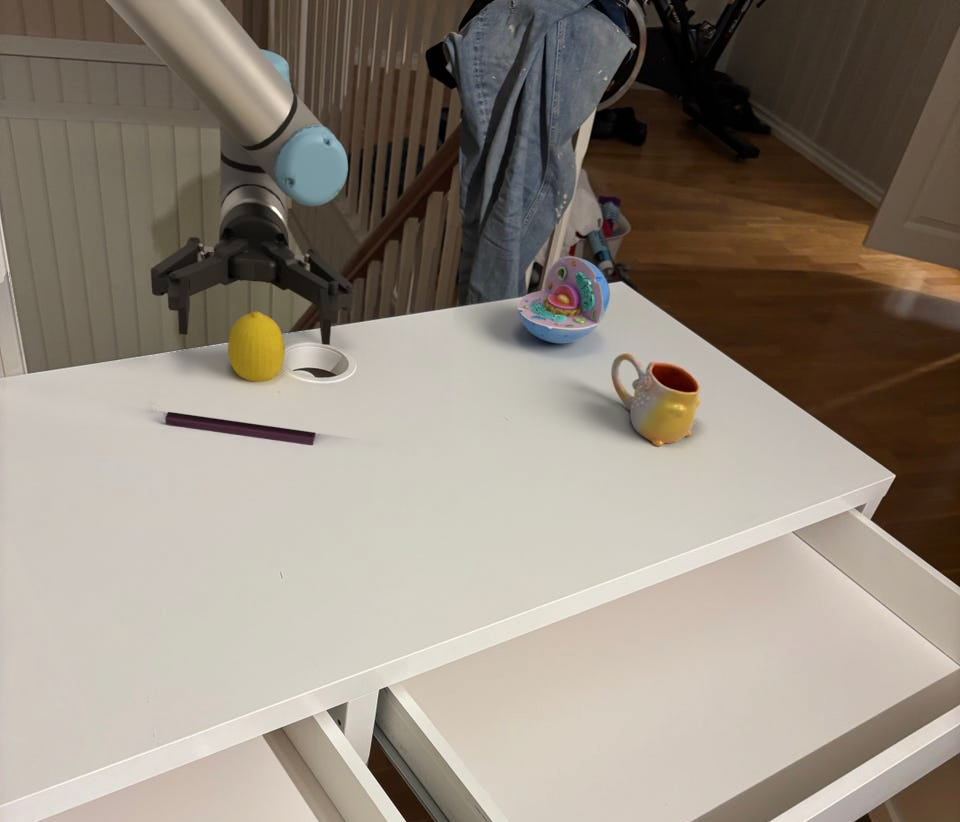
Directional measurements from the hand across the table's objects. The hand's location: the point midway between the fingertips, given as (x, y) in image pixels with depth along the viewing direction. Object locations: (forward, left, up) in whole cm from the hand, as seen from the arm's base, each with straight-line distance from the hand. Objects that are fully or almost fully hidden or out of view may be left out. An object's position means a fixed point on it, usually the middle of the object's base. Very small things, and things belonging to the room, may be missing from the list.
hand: (255, 327), depth 94 cm
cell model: (+33, +23, -8) cm, 41 cm away
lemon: (0, +2, -8) cm, 8 cm away
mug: (+42, +7, -8) cm, 43 cm away
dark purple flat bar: (0, -5, -7) cm, 9 cm away
